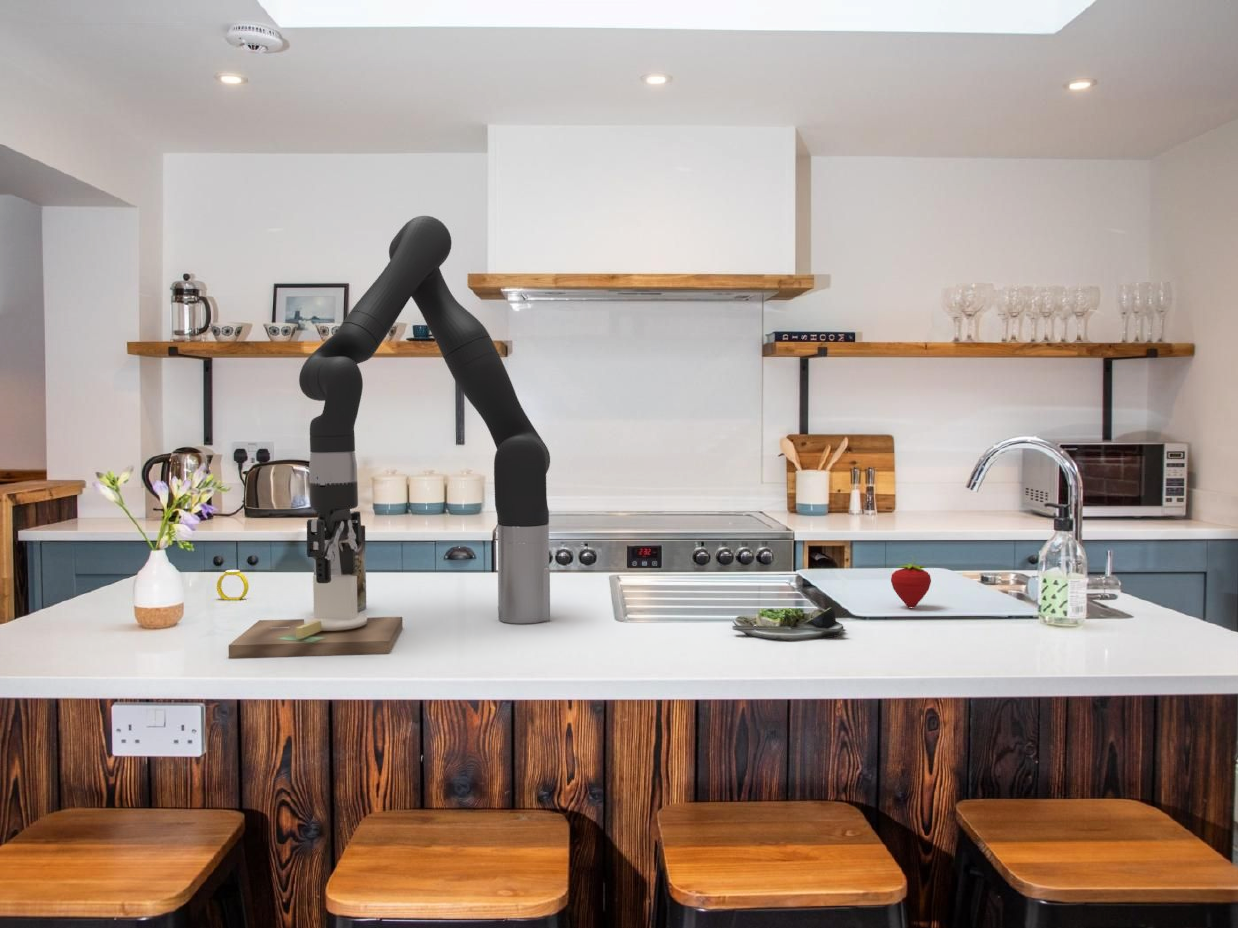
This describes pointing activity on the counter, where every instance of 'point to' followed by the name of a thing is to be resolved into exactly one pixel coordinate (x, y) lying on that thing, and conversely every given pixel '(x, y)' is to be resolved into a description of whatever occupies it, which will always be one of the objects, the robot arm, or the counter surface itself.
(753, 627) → the salad plate
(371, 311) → the robot arm
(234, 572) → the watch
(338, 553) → the coffee box
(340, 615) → the dial knob
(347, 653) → the dial board
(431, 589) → the counter surface
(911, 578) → the strawberry
